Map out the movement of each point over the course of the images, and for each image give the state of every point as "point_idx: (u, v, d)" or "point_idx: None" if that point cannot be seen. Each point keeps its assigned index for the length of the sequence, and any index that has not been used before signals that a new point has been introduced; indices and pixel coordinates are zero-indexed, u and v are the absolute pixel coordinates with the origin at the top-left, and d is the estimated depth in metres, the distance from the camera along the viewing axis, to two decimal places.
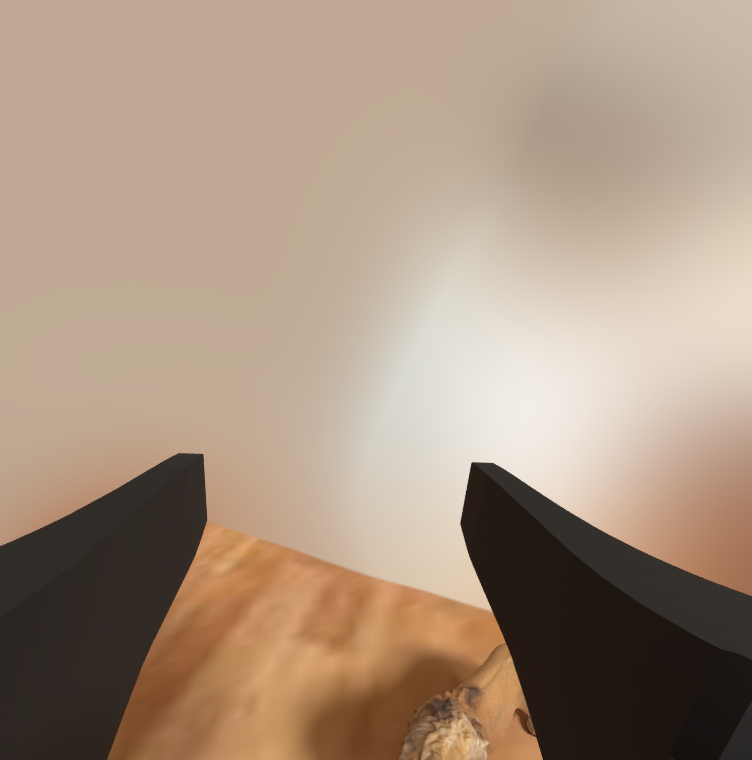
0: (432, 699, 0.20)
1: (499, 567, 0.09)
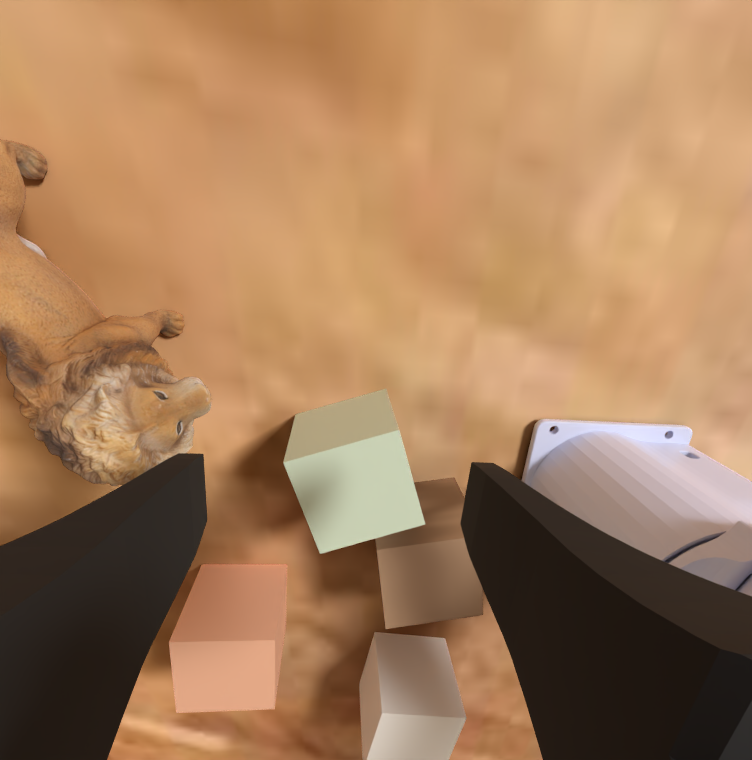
0: None
1: (499, 567, 0.09)
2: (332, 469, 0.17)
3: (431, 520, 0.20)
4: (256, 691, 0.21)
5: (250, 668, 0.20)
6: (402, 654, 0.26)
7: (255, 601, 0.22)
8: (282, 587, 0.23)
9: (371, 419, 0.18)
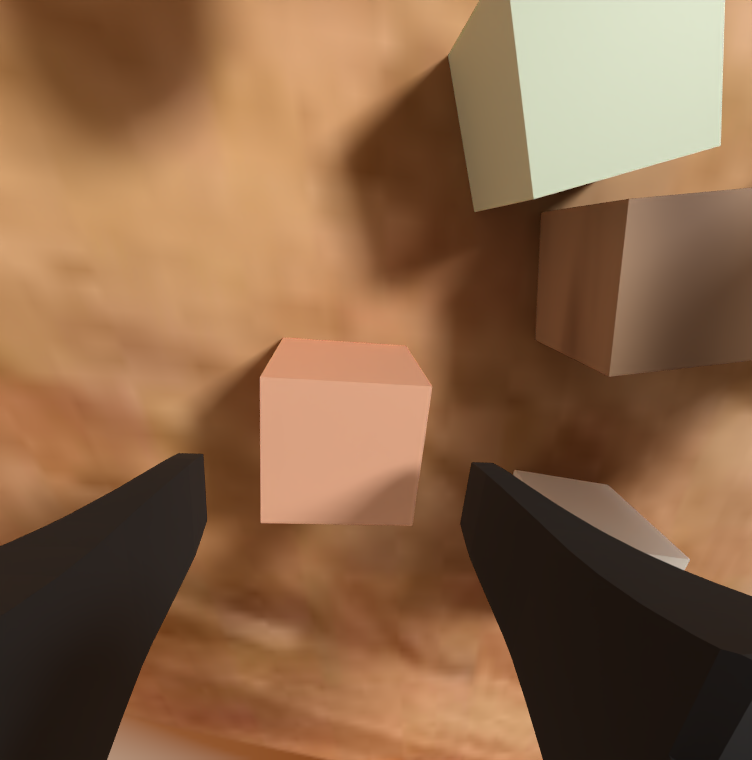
0: None
1: (499, 567, 0.09)
2: None
3: None
4: (389, 490, 0.13)
5: (385, 441, 0.12)
6: (563, 492, 0.18)
7: (379, 362, 0.14)
8: (412, 357, 0.15)
9: None
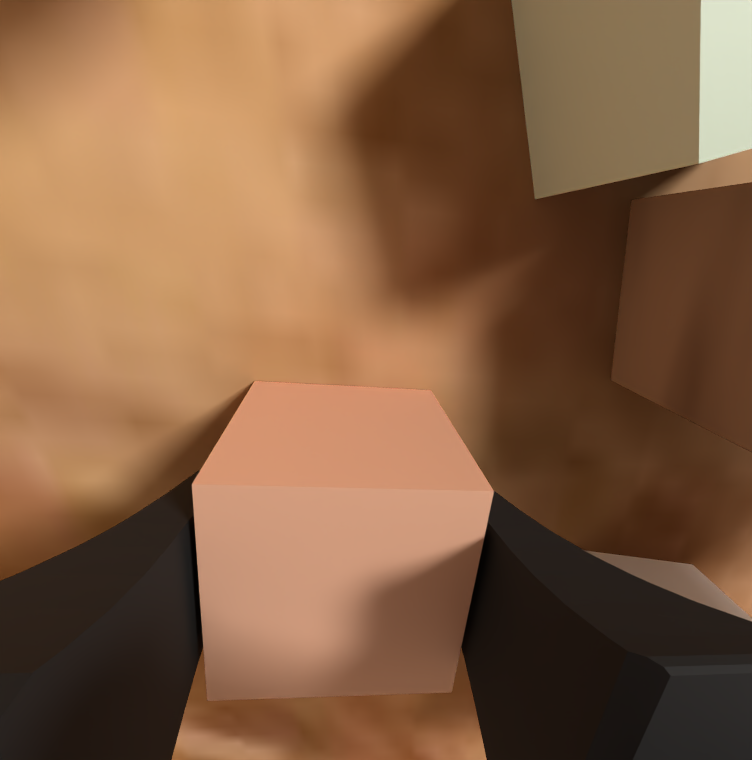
0: None
1: None
2: None
3: None
4: (417, 646, 0.08)
5: (411, 577, 0.07)
6: None
7: (396, 429, 0.09)
8: (444, 415, 0.10)
9: None
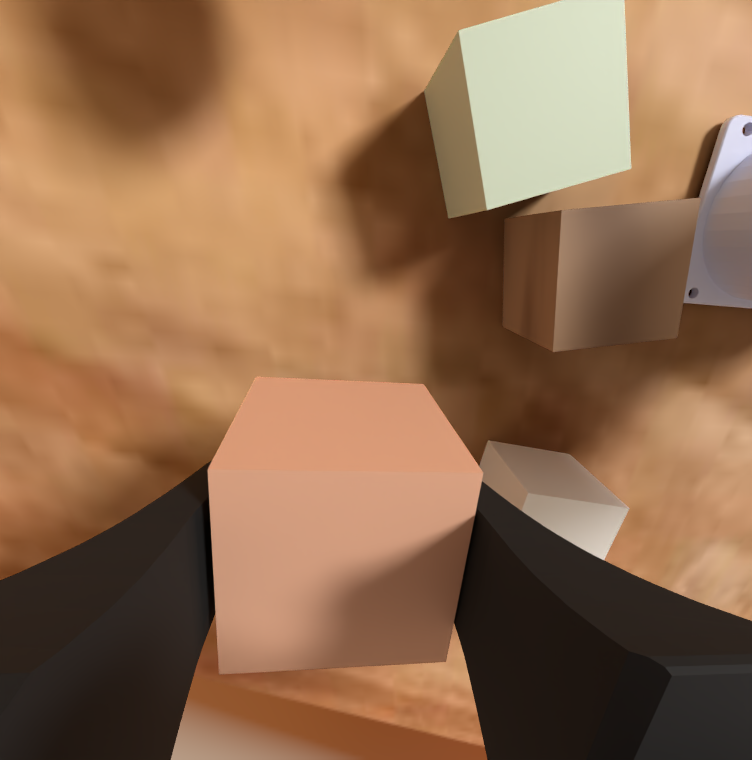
0: None
1: None
2: (523, 51, 0.12)
3: None
4: (413, 618, 0.09)
5: (409, 553, 0.08)
6: (528, 458, 0.21)
7: (392, 420, 0.10)
8: (436, 407, 0.11)
9: None
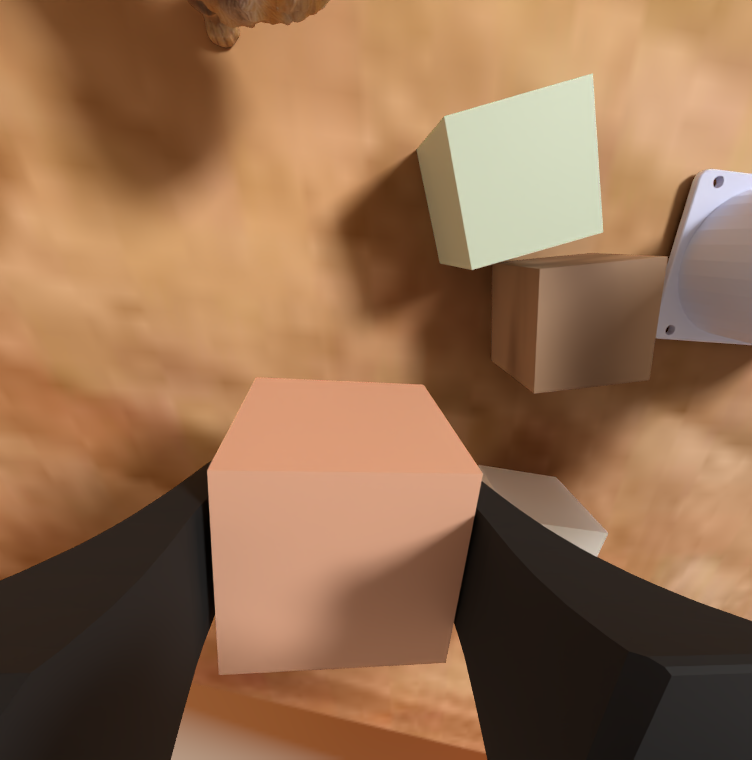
0: None
1: None
2: (503, 133, 0.13)
3: (590, 260, 0.16)
4: (413, 619, 0.09)
5: (408, 554, 0.08)
6: (515, 482, 0.22)
7: (392, 421, 0.10)
8: (436, 407, 0.11)
9: None
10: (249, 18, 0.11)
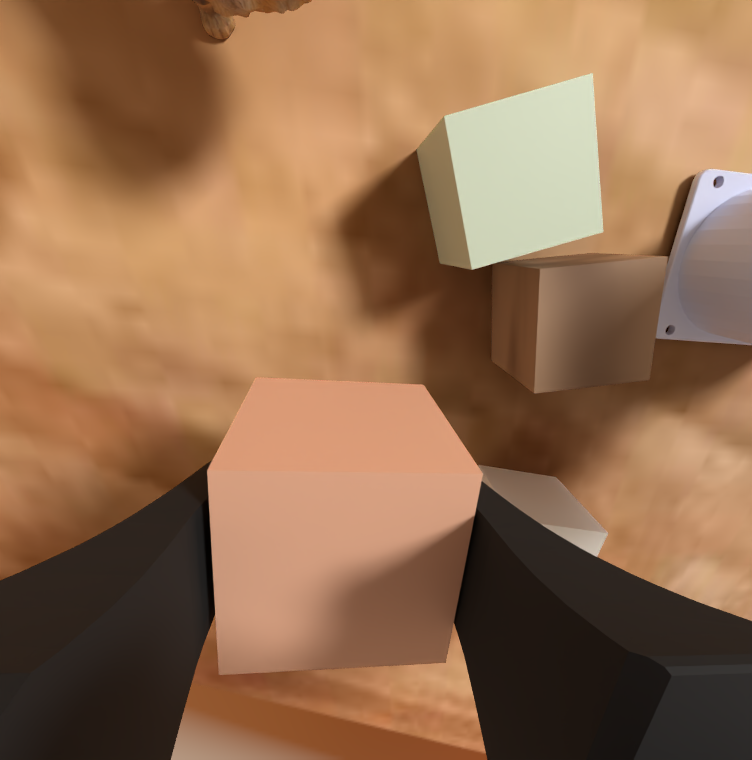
0: None
1: None
2: (503, 132, 0.13)
3: (590, 260, 0.16)
4: (413, 619, 0.09)
5: (408, 554, 0.08)
6: (515, 482, 0.22)
7: (392, 421, 0.10)
8: (436, 407, 0.11)
9: None
10: (243, 6, 0.11)
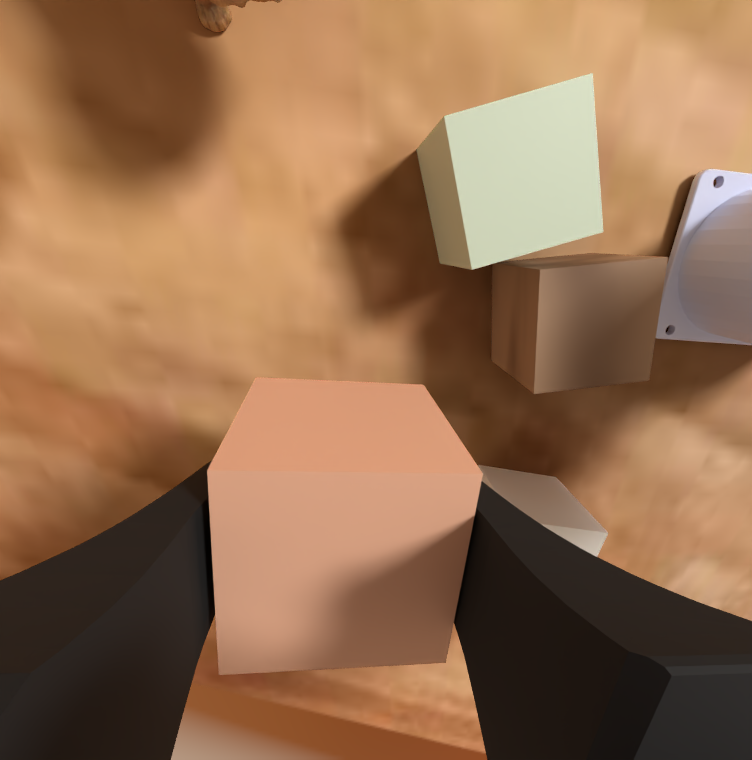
0: None
1: None
2: (503, 132, 0.13)
3: (590, 260, 0.16)
4: (413, 619, 0.09)
5: (408, 554, 0.08)
6: (515, 482, 0.22)
7: (392, 421, 0.10)
8: (436, 407, 0.11)
9: None
10: None
